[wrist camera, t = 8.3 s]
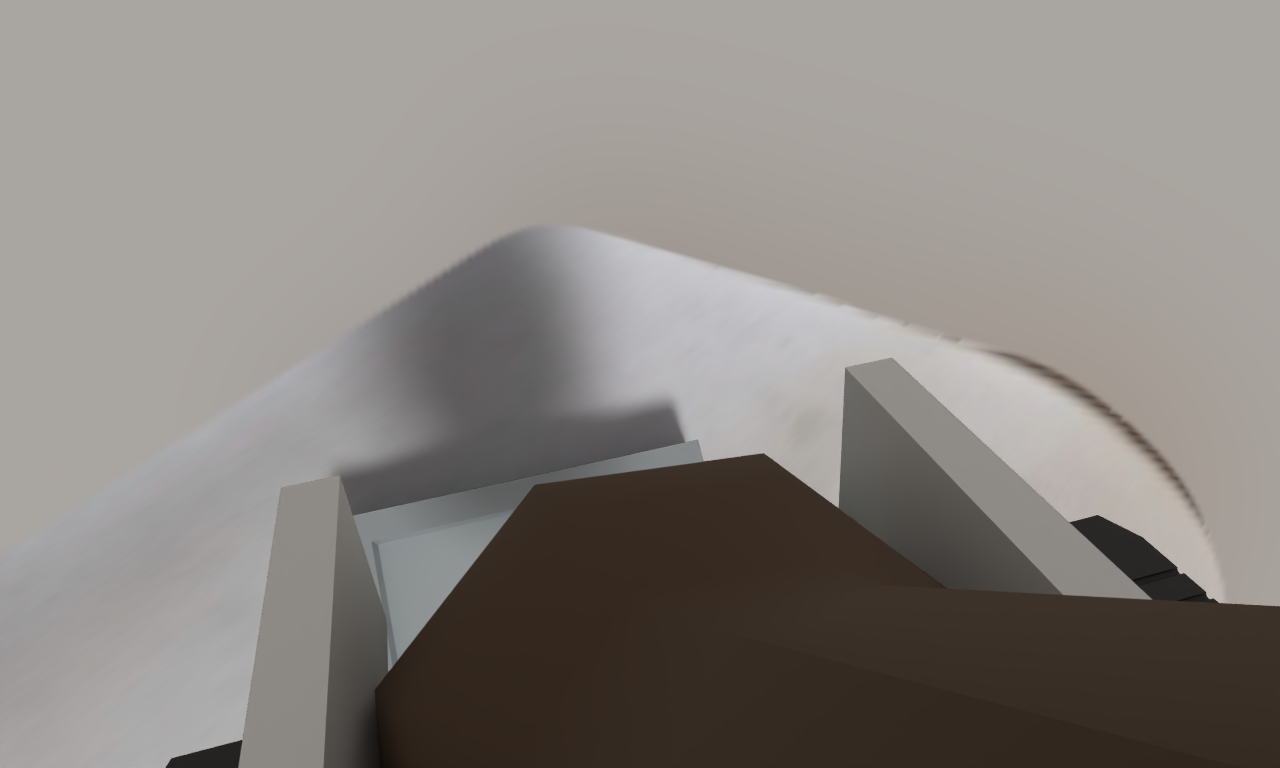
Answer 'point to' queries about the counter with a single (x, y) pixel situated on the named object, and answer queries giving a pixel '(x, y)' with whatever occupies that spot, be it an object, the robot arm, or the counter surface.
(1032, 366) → the counter surface
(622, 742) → the beer bottle
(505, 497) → the keeper tray
